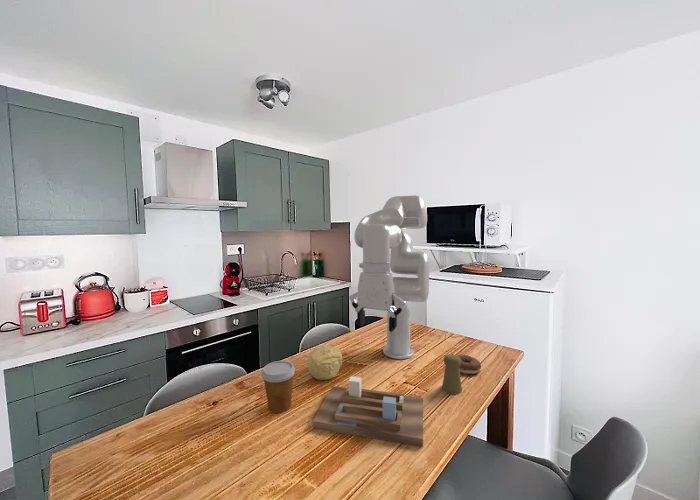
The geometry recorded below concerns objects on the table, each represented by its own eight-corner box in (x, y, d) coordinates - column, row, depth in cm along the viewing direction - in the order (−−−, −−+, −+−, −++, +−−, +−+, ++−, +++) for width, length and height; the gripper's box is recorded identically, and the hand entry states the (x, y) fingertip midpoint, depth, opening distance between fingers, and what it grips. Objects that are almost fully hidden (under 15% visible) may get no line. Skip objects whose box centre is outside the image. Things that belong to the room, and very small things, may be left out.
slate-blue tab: (383, 415, 78) (383, 396, 77) (396, 417, 77) (396, 397, 76) (382, 422, 75) (382, 402, 75) (395, 424, 74) (395, 403, 74)
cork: (463, 395, 90) (464, 360, 90) (443, 393, 92) (443, 359, 91) (460, 384, 96) (460, 352, 95) (441, 382, 98) (441, 351, 97)
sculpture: (315, 387, 96) (314, 356, 95) (303, 371, 106) (302, 343, 105) (346, 379, 101) (346, 348, 100) (332, 364, 112) (331, 337, 111)
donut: (449, 373, 104) (449, 362, 104) (450, 360, 114) (451, 350, 114) (481, 378, 100) (482, 367, 100) (480, 365, 110) (480, 354, 110)
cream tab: (351, 393, 88) (350, 376, 87) (361, 395, 87) (361, 377, 87) (348, 398, 85) (348, 380, 85) (359, 400, 85) (359, 382, 84)
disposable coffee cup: (301, 400, 89) (300, 362, 88) (285, 420, 80) (283, 378, 79) (275, 394, 92) (273, 358, 91) (256, 413, 83) (254, 372, 82)
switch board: (332, 392, 93) (332, 382, 93) (423, 404, 86) (423, 393, 86) (313, 428, 77) (312, 416, 76) (422, 446, 70) (422, 433, 69)
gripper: (343, 268, 83) (344, 326, 85) (400, 272, 75) (400, 337, 76) (355, 265, 90) (356, 319, 91) (410, 268, 81) (409, 328, 83)
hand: (376, 327), depth 84 cm, fingers open, 9 cm apart
